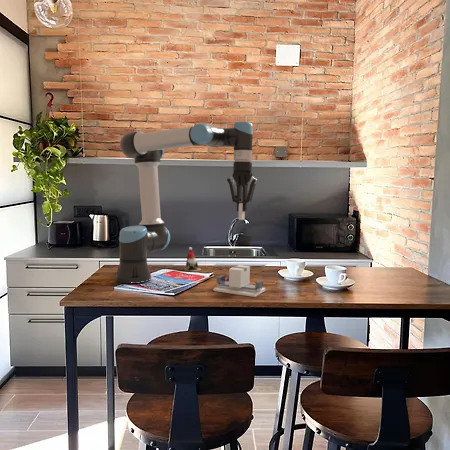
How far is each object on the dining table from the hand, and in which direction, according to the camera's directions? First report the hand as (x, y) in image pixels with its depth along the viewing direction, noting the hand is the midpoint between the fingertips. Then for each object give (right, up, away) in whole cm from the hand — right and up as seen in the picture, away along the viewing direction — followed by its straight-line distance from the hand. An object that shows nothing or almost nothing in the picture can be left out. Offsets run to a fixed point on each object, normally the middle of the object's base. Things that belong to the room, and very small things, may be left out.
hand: (241, 219), depth 175 cm
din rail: (-1, -29, -2) cm, 29 cm away
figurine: (-23, -25, +36) cm, 49 cm away
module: (-1, -26, -3) cm, 26 cm away
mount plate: (-1, -29, -2) cm, 29 cm away
